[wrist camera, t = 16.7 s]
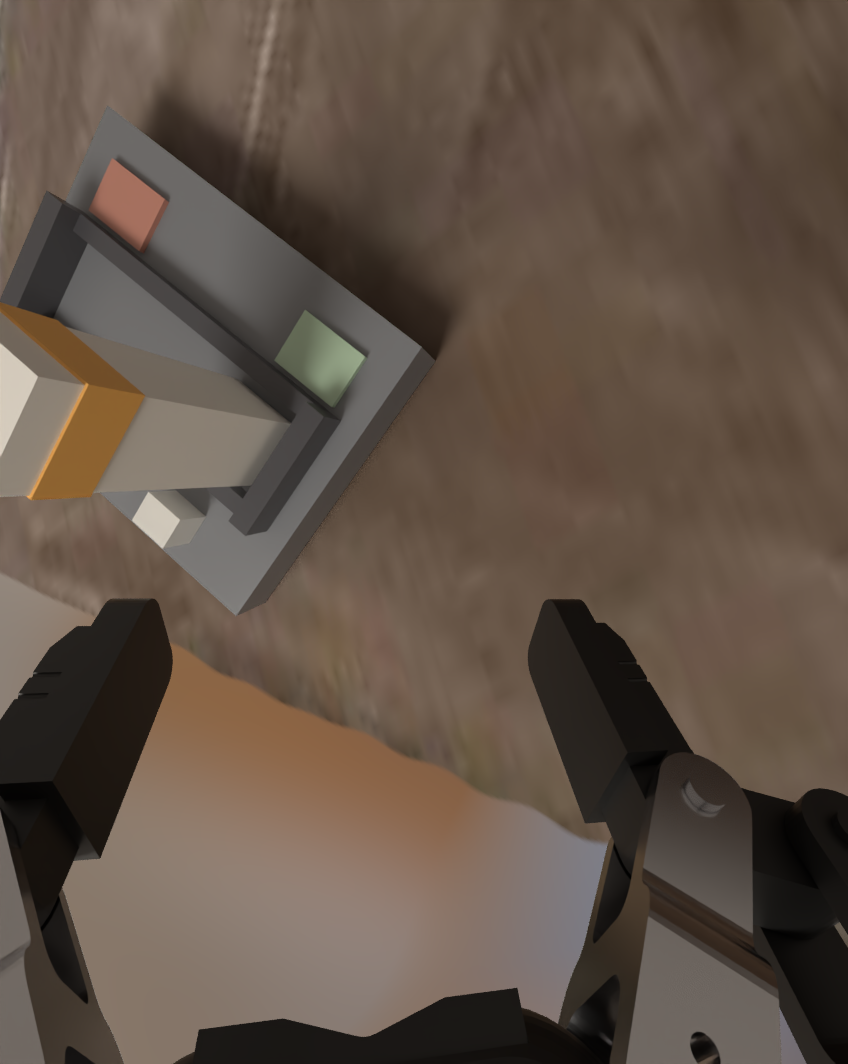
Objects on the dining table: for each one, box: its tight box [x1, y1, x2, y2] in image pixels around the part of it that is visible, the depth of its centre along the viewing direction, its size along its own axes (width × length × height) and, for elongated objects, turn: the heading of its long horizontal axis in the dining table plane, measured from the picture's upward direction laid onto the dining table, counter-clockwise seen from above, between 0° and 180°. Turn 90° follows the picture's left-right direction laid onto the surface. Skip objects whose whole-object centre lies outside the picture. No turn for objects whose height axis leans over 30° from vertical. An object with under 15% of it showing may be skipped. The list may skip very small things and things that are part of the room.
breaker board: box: [0, 105, 435, 616], centre depth 27 cm, size 22×18×5 cm
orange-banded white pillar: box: [0, 302, 291, 500], centre depth 19 cm, size 4×4×13 cm
